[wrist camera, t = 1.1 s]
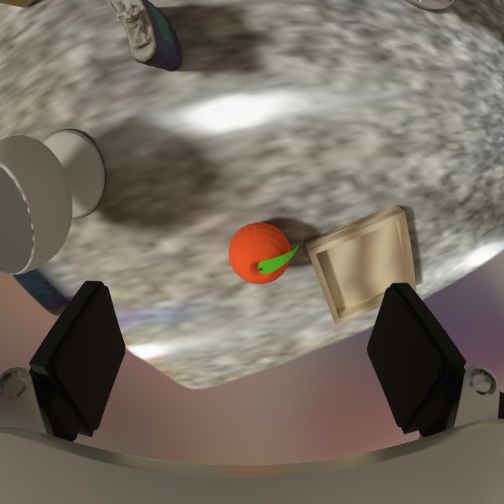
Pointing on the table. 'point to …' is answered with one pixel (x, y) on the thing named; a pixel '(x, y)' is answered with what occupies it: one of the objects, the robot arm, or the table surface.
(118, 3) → the flask
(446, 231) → the table surface
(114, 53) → the table surface
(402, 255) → the tray
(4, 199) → the chalice
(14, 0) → the cheese
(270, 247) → the clementine
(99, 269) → the table surface
